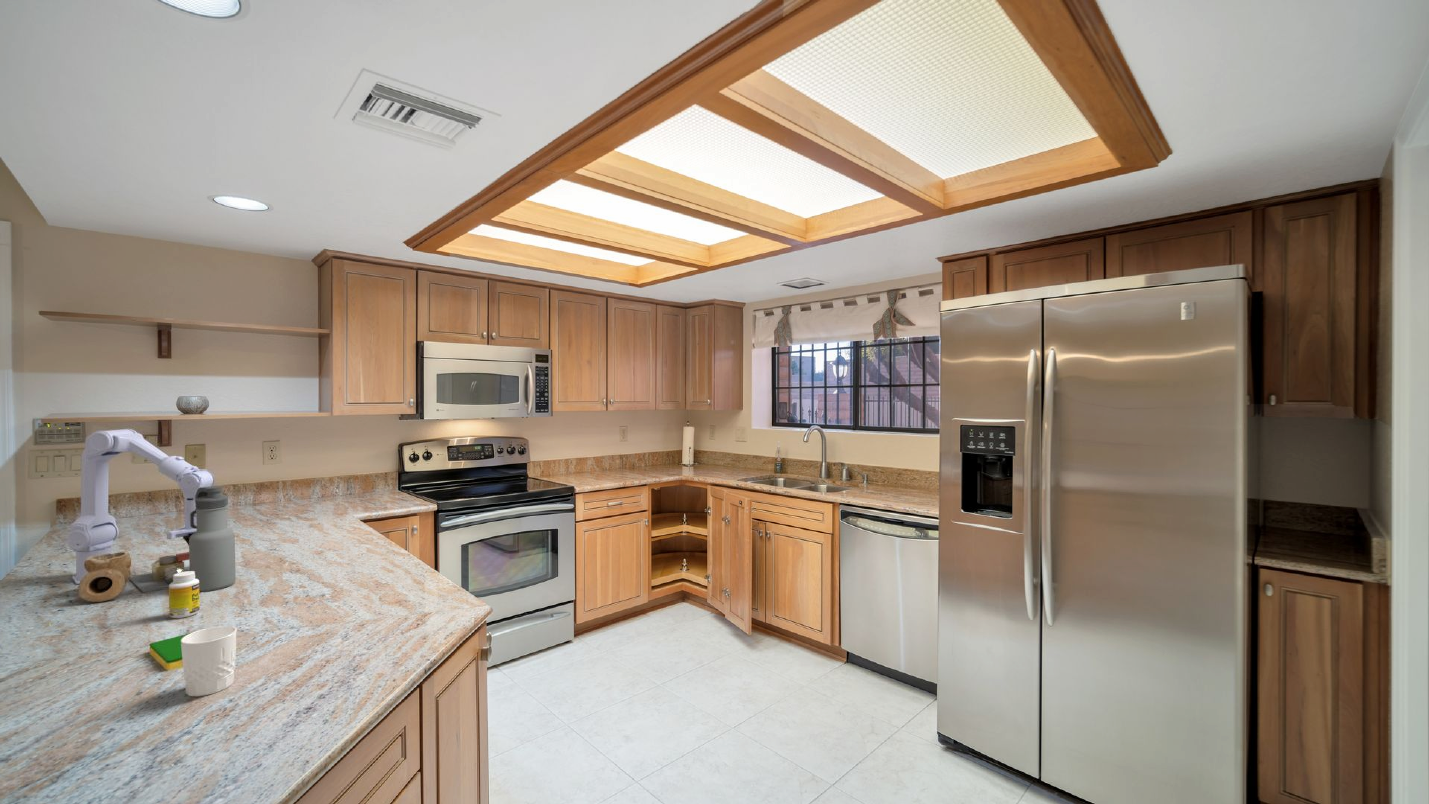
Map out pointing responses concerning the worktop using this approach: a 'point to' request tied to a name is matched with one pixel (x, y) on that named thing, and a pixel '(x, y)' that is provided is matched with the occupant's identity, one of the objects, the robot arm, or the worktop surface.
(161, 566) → the valve body
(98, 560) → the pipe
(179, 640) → the dish sponge
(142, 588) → the mat
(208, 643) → the white cup
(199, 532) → the water bottle
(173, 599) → the supplement bottle
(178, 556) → the lever
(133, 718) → the worktop surface
